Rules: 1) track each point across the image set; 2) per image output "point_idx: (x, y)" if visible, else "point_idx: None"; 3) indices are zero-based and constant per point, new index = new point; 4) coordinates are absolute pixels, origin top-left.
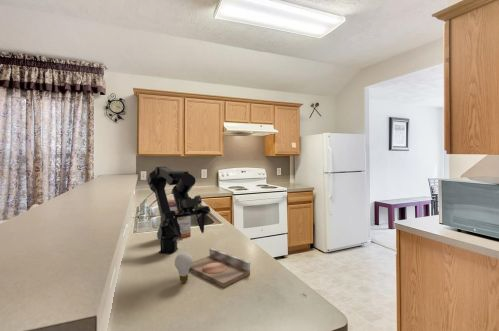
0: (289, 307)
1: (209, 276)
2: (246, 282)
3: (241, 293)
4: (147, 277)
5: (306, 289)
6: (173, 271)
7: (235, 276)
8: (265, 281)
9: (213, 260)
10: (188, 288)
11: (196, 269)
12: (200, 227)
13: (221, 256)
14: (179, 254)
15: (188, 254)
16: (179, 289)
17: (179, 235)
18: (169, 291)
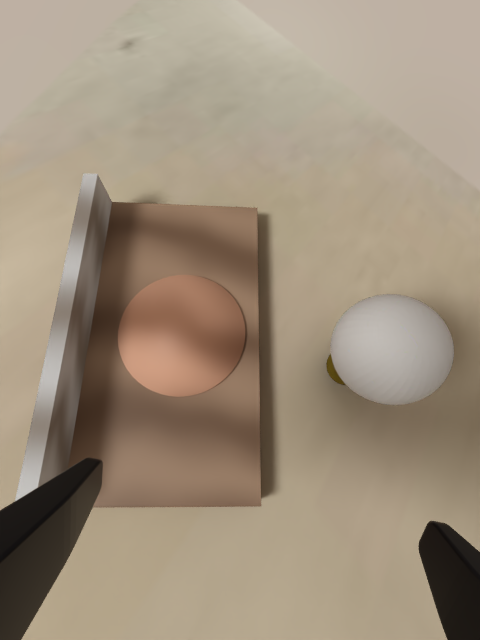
0: (208, 47)
1: (257, 287)
2: (171, 186)
3: (240, 158)
4: None
5: (96, 49)
6: (322, 520)
7: (185, 209)
8: (123, 146)
9: (110, 417)
10: None
11: (253, 393)
12: (36, 587)
13: (71, 376)
14: (443, 353)
15: (382, 316)
16: None
17: (467, 548)
18: None
